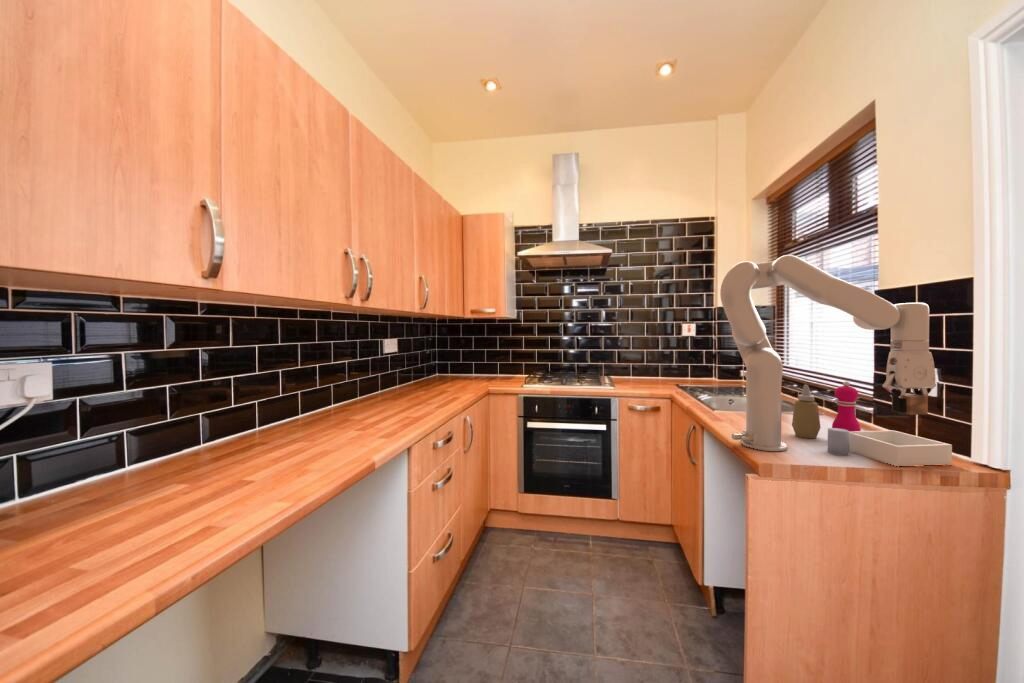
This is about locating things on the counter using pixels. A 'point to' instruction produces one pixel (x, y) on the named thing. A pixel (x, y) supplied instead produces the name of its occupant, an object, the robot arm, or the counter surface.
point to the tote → (899, 448)
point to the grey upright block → (838, 441)
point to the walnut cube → (915, 404)
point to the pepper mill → (846, 408)
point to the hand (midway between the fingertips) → (909, 410)
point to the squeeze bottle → (806, 415)
